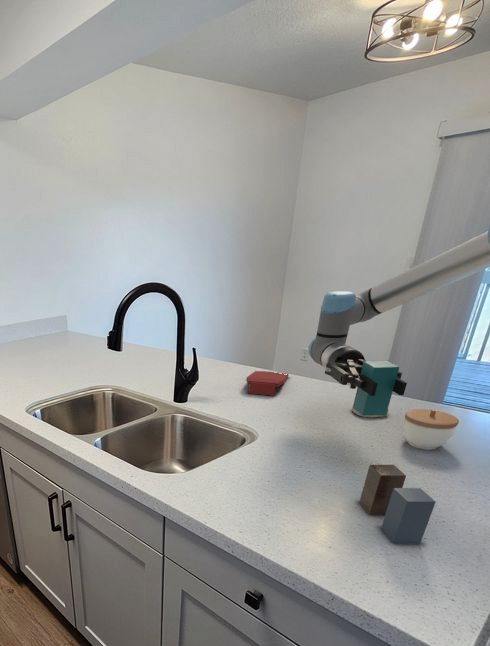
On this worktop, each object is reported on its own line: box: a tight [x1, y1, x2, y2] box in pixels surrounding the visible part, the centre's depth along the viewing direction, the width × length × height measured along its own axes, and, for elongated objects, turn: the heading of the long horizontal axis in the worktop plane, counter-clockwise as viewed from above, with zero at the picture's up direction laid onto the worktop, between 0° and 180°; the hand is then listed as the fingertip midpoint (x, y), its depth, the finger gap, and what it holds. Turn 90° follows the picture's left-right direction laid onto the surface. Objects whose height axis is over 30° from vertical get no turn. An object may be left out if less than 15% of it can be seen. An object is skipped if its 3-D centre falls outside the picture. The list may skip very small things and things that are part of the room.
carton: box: [246, 370, 289, 397], centre depth 160 cm, size 12×5×25 cm
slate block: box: [380, 487, 437, 545], centre depth 78 cm, size 4×4×9 cm
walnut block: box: [358, 464, 407, 516], centre depth 86 cm, size 4×4×9 cm
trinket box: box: [402, 408, 460, 451], centre depth 109 cm, size 11×11×9 cm
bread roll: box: [351, 407, 389, 419], centre depth 130 cm, size 8×9×4 cm
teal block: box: [352, 360, 400, 417], centre depth 97 cm, size 5×5×11 cm
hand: (388, 389), depth 92 cm, fingers closed on teal block, 5 cm apart
